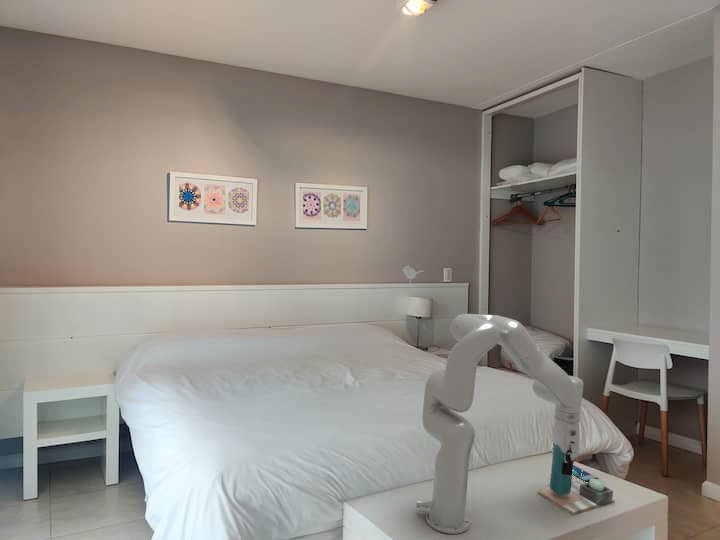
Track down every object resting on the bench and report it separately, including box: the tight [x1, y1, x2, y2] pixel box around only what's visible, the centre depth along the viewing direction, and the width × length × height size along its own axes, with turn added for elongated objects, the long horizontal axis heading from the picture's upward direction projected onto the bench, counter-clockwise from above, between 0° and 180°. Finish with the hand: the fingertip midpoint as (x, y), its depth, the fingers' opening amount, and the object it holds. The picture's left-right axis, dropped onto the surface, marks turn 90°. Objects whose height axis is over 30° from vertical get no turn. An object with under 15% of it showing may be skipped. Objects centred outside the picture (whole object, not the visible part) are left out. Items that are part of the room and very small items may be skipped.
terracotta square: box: [538, 488, 581, 506], centre depth 167 cm, size 9×9×1 cm
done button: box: [589, 478, 605, 493], centre depth 167 cm, size 4×4×3 cm
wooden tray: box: [537, 480, 616, 516], centre depth 168 cm, size 20×14×4 cm
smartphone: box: [572, 464, 600, 483], centre depth 187 cm, size 7×1×15 cm
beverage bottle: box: [549, 444, 574, 495], centre depth 166 cm, size 6×7×20 cm
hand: (561, 468), depth 167 cm, fingers closed on beverage bottle, 6 cm apart
